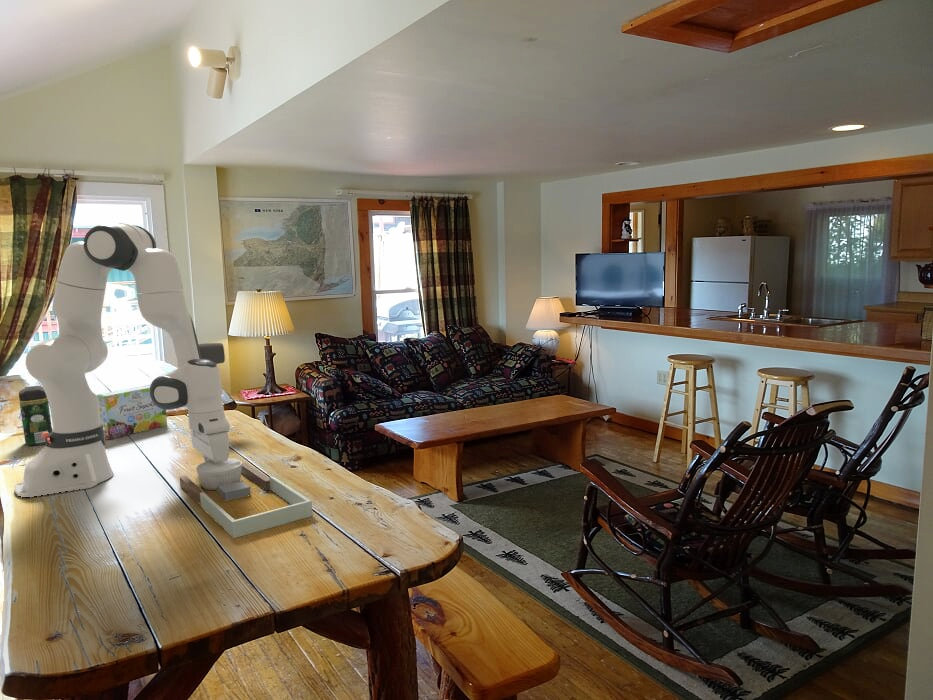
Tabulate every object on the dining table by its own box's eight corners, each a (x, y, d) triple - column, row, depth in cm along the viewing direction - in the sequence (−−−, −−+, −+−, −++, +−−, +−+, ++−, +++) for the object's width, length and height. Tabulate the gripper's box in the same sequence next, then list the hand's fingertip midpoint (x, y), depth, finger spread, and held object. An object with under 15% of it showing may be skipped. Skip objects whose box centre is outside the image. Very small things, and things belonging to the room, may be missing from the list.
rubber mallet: (192, 436, 219) (184, 346, 215) (190, 430, 226) (182, 343, 221) (231, 430, 224) (224, 343, 220) (229, 425, 231) (221, 340, 227)
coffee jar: (24, 441, 219) (17, 386, 216) (53, 437, 223) (46, 383, 221) (24, 447, 211) (17, 390, 208) (54, 443, 215) (47, 387, 213)
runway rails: (202, 506, 155) (201, 496, 155) (180, 486, 170) (179, 476, 170) (272, 489, 165) (271, 480, 165) (245, 471, 180) (245, 462, 180)
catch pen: (233, 538, 137) (232, 522, 137) (201, 507, 155) (199, 492, 154) (312, 515, 148) (311, 500, 147) (273, 489, 166) (272, 475, 165)
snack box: (109, 440, 217) (104, 395, 215) (100, 438, 220) (95, 394, 218) (168, 425, 235) (164, 383, 232) (159, 423, 237) (154, 382, 235)
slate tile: (225, 502, 159) (224, 492, 158) (218, 495, 163) (217, 486, 163) (250, 496, 162) (249, 487, 162) (242, 490, 167) (242, 480, 166)
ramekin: (234, 491, 165) (232, 471, 164) (190, 492, 165) (188, 472, 164) (250, 476, 176) (248, 457, 175) (208, 477, 176) (207, 458, 175)
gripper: (183, 415, 181) (187, 464, 183) (206, 429, 165) (211, 482, 167) (206, 411, 185) (211, 459, 187) (231, 425, 169) (236, 477, 171)
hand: (211, 470), depth 177 cm, fingers closed
